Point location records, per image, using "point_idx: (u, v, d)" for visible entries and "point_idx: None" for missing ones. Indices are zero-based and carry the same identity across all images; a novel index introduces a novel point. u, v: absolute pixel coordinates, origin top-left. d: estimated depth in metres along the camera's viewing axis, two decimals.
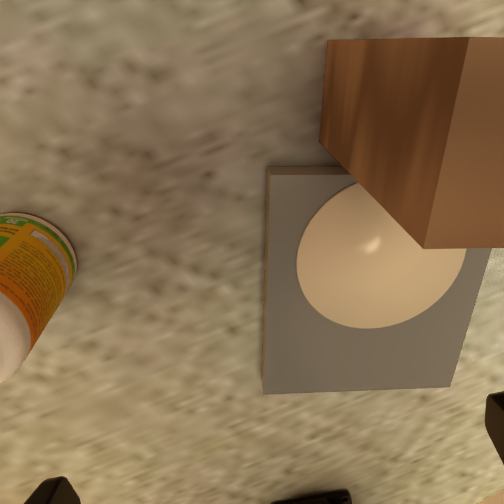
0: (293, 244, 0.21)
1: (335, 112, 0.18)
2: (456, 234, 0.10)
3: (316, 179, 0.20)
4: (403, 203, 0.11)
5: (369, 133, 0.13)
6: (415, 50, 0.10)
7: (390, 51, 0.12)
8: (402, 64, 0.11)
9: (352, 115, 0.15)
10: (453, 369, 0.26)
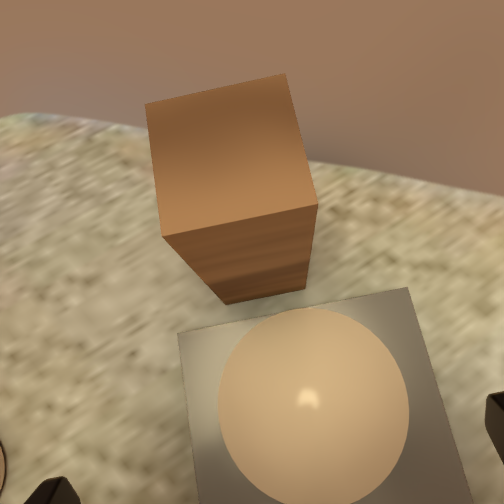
0: (212, 401, 0.20)
1: None
2: (184, 218, 0.12)
3: (219, 329, 0.21)
4: None
5: None
6: None
7: None
8: None
9: None
10: None
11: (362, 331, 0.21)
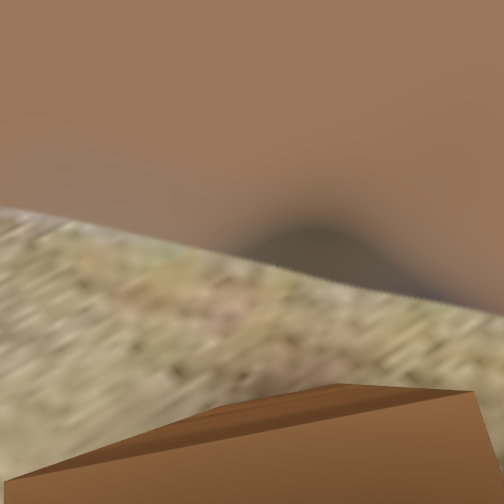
0: None
1: None
2: None
3: None
4: None
5: None
6: None
7: None
8: None
9: None
10: None
11: None
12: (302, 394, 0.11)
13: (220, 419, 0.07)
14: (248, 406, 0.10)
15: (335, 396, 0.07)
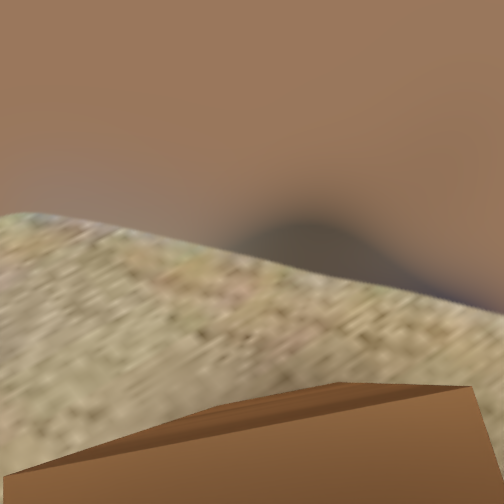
0: None
1: None
2: None
3: None
4: None
5: None
6: None
7: None
8: None
9: None
10: None
11: None
12: (302, 392, 0.11)
13: (219, 416, 0.07)
14: (248, 404, 0.11)
15: (334, 393, 0.07)
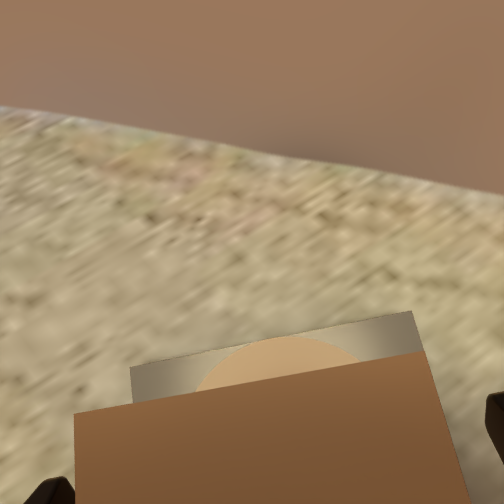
0: None
1: None
2: None
3: (181, 362, 0.17)
4: None
5: None
6: None
7: None
8: None
9: None
10: None
11: None
12: None
13: None
14: None
15: None
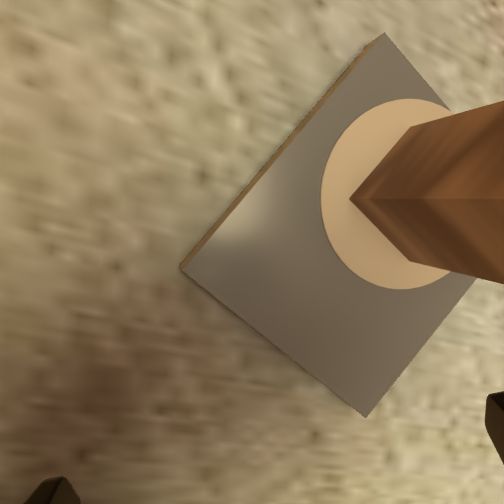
0: (353, 113, 0.19)
1: (406, 165, 0.17)
2: None
3: (412, 72, 0.19)
4: None
5: (498, 153, 0.12)
6: None
7: None
8: None
9: (453, 155, 0.14)
10: (382, 393, 0.21)
11: None
12: None
13: None
14: None
15: None
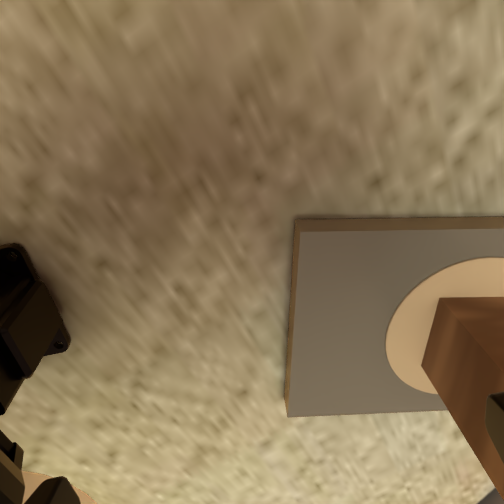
0: None
1: (503, 328, 0.19)
2: None
3: None
4: None
5: None
6: None
7: None
8: None
9: None
10: (312, 414, 0.25)
11: None
12: None
13: None
14: None
15: None
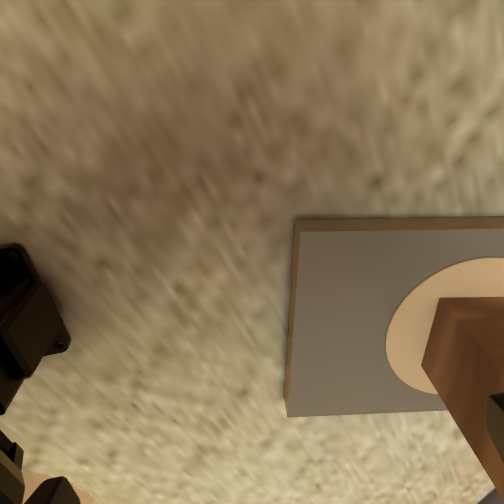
0: None
1: (503, 328, 0.19)
2: None
3: None
4: None
5: None
6: None
7: None
8: None
9: None
10: (312, 414, 0.25)
11: None
12: None
13: None
14: None
15: None
